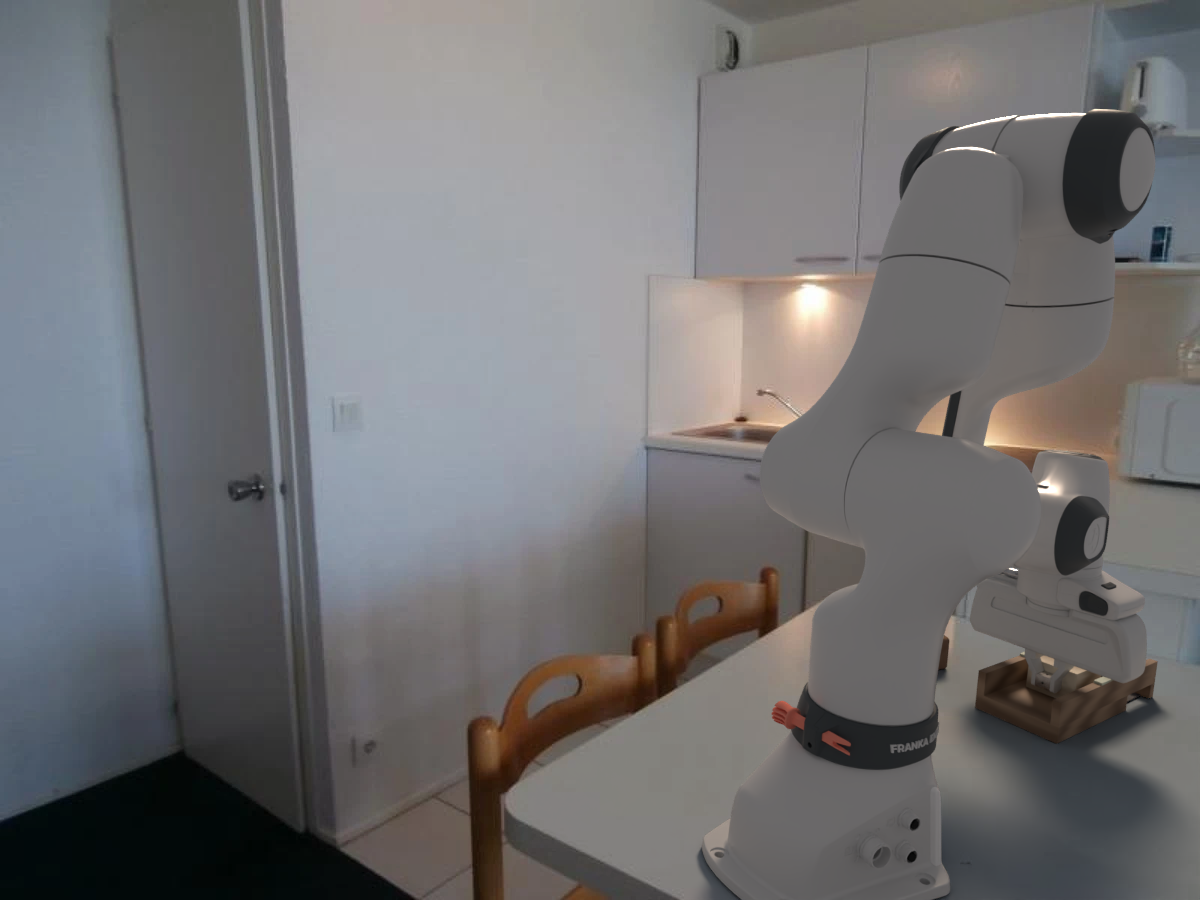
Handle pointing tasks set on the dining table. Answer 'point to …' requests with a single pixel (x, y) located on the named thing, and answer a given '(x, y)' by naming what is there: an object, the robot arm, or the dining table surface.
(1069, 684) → the birch block
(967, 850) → the dining table surface
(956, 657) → the dining table surface
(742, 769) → the dining table surface
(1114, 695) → the walled channel
